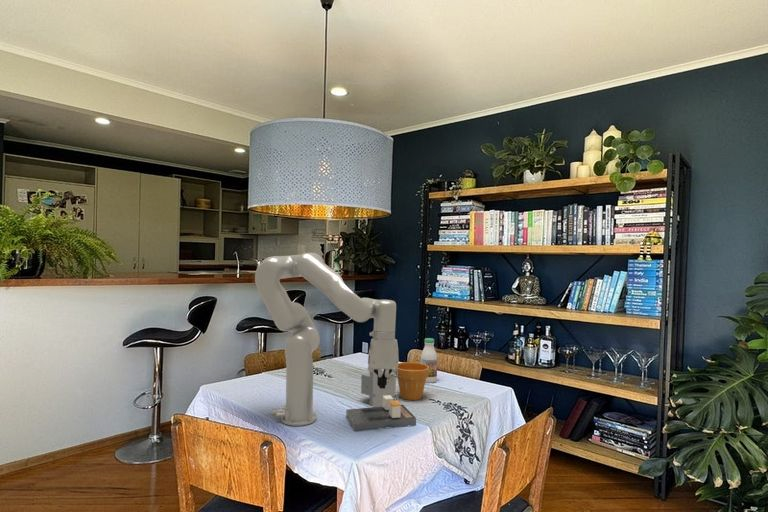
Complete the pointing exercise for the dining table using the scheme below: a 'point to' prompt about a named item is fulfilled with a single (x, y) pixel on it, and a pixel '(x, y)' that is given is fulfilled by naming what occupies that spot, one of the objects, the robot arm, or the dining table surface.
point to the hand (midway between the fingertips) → (381, 387)
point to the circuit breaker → (373, 389)
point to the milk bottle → (430, 360)
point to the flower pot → (412, 379)
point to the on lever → (386, 401)
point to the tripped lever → (394, 409)
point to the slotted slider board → (378, 418)
